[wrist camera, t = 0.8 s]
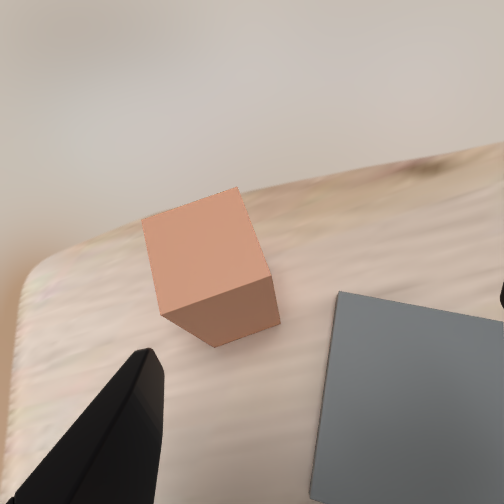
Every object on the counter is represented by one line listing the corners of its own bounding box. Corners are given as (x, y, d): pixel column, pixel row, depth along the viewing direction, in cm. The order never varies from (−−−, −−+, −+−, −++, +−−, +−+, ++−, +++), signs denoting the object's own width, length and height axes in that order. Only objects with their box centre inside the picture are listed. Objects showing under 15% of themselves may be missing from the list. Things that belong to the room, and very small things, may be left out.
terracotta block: (280, 323, 23) (271, 275, 14) (214, 347, 23) (160, 314, 13) (258, 263, 25) (237, 186, 16) (197, 284, 25) (141, 220, 16)
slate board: (503, 555, 16) (518, 566, 15) (309, 492, 18) (309, 498, 17) (492, 325, 21) (503, 321, 20) (337, 296, 23) (339, 291, 22)
